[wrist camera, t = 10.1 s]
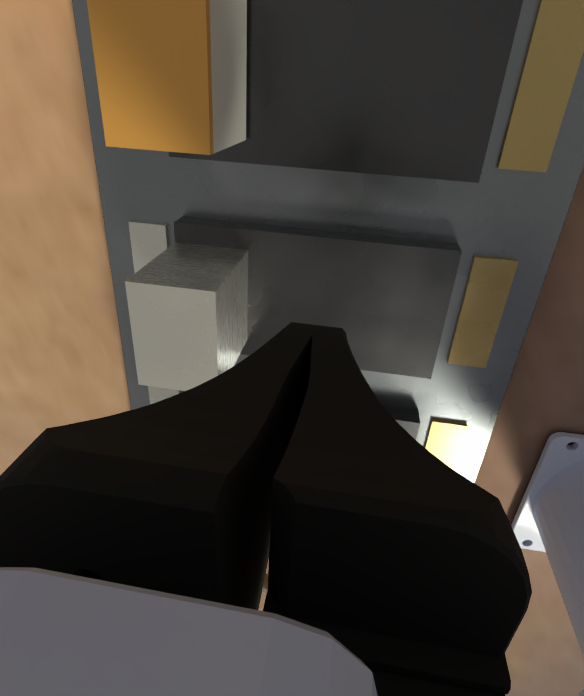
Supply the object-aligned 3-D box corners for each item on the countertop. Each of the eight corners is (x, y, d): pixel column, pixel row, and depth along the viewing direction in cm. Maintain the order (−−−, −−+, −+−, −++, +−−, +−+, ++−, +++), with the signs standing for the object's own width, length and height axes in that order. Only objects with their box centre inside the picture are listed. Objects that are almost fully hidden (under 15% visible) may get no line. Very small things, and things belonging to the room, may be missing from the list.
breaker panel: (642, -57, 14) (819, -151, 8) (457, 503, 26) (479, 619, 20) (80, -73, 16) (-79, -157, 10) (148, 454, 28) (91, 547, 22)
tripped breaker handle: (246, -5, 14) (204, -33, 11) (246, 139, 16) (210, 155, 13) (151, -9, 14) (81, -38, 11) (162, 133, 16) (106, 146, 13)
